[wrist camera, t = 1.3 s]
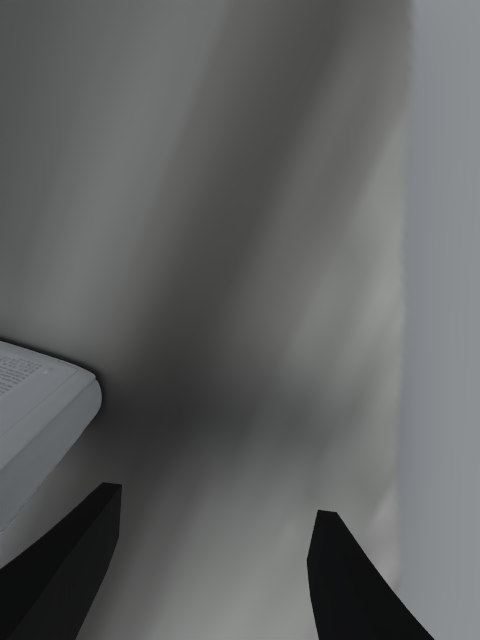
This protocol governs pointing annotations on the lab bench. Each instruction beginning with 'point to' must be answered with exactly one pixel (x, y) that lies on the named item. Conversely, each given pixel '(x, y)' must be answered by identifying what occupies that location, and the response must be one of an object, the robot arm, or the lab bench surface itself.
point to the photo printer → (38, 420)
